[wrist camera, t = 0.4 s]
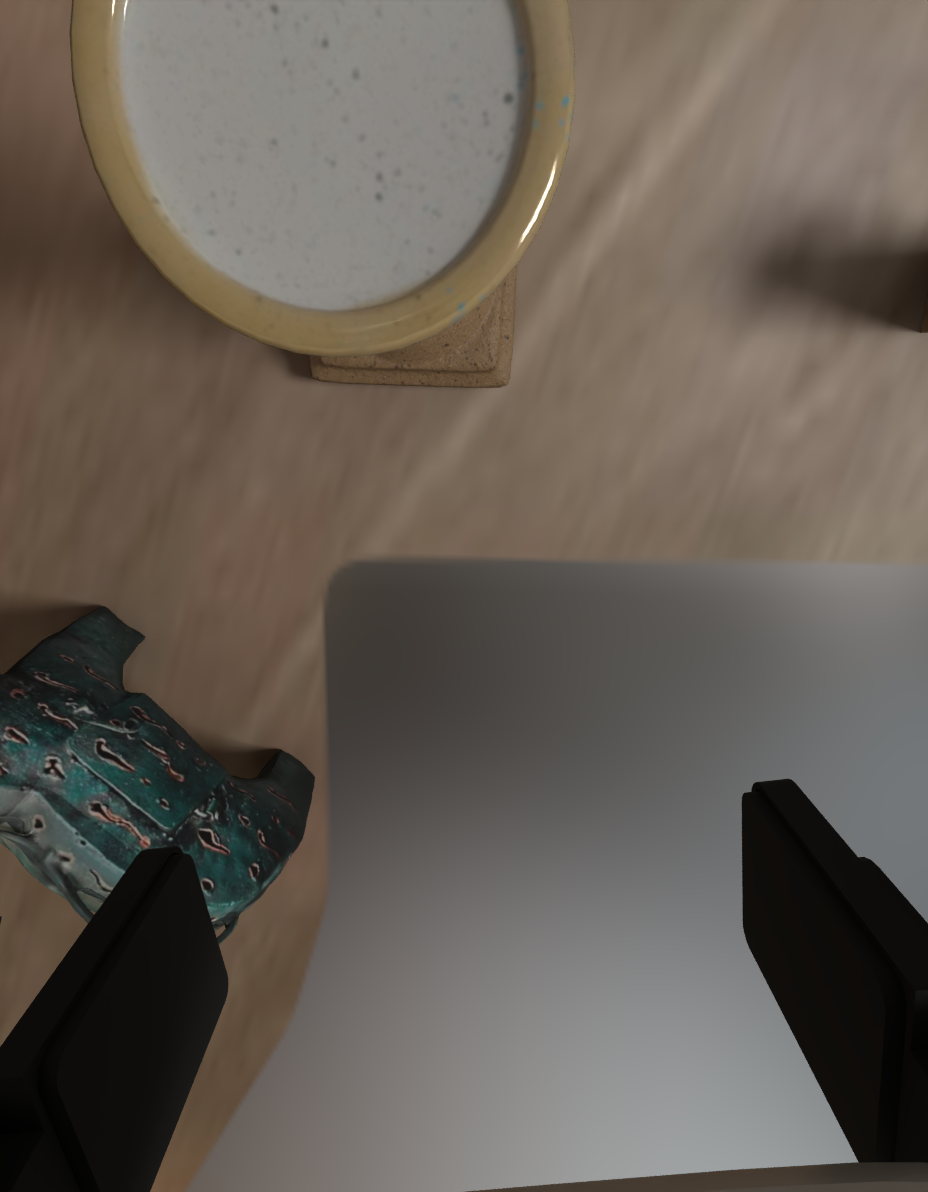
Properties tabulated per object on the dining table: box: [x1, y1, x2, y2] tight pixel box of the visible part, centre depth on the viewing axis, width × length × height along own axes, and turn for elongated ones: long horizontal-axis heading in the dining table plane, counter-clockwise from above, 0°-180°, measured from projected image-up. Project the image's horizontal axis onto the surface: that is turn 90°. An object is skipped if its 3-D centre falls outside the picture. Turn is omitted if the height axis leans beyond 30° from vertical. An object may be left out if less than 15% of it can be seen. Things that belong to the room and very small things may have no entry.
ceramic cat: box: [0, 607, 315, 944], centre depth 34 cm, size 20×6×20 cm, turn 46°
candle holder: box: [70, 0, 575, 388], centre depth 25 cm, size 11×11×24 cm
